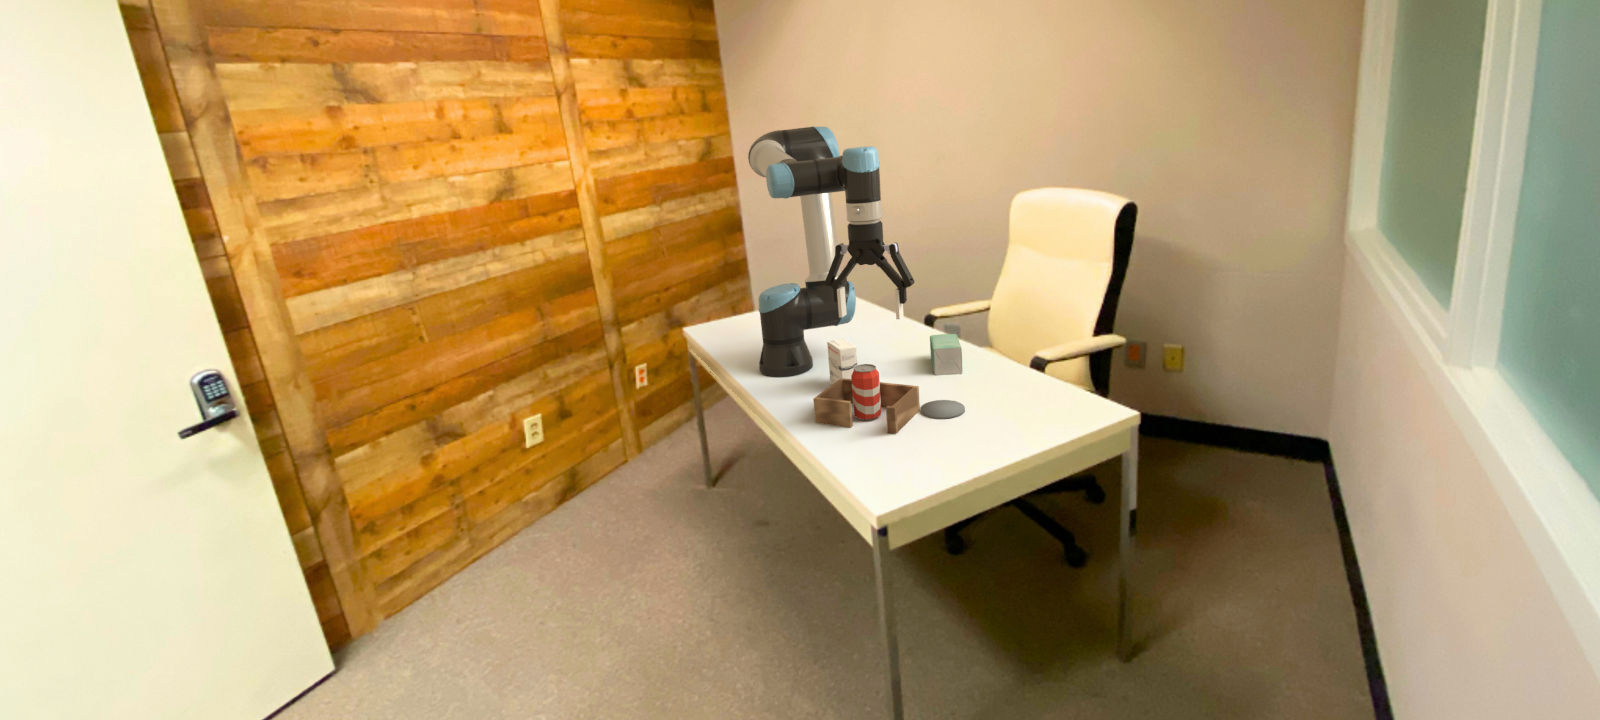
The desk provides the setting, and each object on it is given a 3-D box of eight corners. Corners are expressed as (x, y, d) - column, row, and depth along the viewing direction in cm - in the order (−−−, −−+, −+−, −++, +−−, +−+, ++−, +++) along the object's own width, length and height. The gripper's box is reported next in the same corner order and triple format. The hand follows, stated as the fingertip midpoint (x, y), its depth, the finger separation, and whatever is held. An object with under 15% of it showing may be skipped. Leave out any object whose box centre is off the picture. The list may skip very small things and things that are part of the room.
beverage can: (862, 424, 168) (859, 374, 164) (849, 415, 174) (846, 366, 170) (886, 417, 170) (883, 368, 166) (872, 409, 176) (869, 361, 172)
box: (957, 357, 206) (956, 332, 204) (963, 374, 193) (962, 347, 191) (930, 359, 207) (929, 333, 204) (934, 376, 194) (933, 349, 192)
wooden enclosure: (815, 422, 171) (813, 398, 169) (842, 401, 183) (841, 378, 181) (896, 434, 161) (894, 408, 159) (919, 410, 173) (918, 386, 171)
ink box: (860, 390, 189) (857, 345, 185) (842, 394, 187) (838, 349, 184) (846, 380, 196) (843, 337, 193) (829, 384, 195) (825, 341, 191)
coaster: (914, 415, 170) (914, 413, 170) (929, 400, 178) (929, 398, 178) (956, 421, 165) (956, 418, 165) (970, 404, 173) (970, 402, 173)
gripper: (805, 225, 162) (813, 319, 169) (915, 222, 151) (919, 323, 158) (819, 220, 169) (826, 311, 175) (926, 217, 158) (929, 313, 164)
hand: (870, 317), depth 166 cm, fingers open, 13 cm apart
